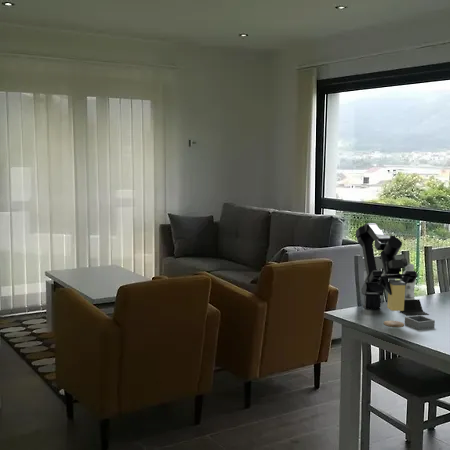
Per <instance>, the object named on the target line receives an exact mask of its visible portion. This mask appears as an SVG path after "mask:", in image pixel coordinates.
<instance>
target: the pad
mask: <svg viewBox="0 0 450 450" xmlns="http://www.w3.org/2000/svg"><path fill="white" fill-rule="evenodd" d="M383 325H385V326H386V327H387V326H388V327H391V328H402V327H404V326H405V322H404V323H403V322H401V321H397V320H384V321H383Z"/></svg>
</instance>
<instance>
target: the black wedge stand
mask: <svg viewBox="0 0 450 450" xmlns="http://www.w3.org/2000/svg"><path fill="white" fill-rule="evenodd" d="M399 312H400V313H401V314H403V315H404V316H405V317H410V316H419V315H421V316H429V315H430V314H429V313H427V312H425V311H424V310H423V307H422V303H421V300H420V299H417V298H416V299H415V300H404V311H399Z"/></svg>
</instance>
